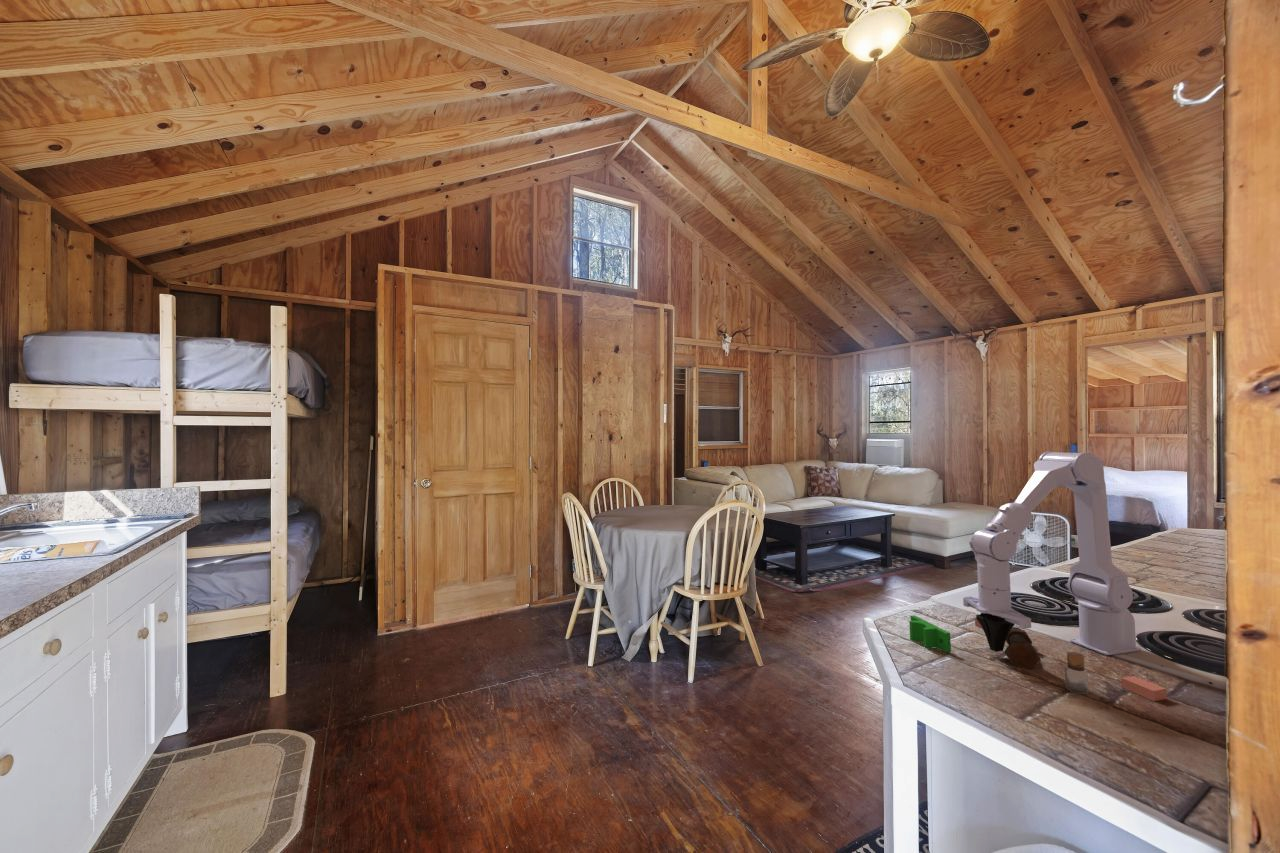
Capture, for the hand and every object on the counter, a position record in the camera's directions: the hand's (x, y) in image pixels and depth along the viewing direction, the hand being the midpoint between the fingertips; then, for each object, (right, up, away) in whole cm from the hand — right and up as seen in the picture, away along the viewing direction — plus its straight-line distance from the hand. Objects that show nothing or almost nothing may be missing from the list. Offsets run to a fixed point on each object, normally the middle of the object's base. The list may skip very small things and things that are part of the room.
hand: (996, 650), depth 108 cm
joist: (+9, -1, +15) cm, 18 cm away
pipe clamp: (-11, -2, +8) cm, 14 cm away
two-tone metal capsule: (+5, -1, -14) cm, 15 cm away
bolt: (+6, -2, +1) cm, 6 cm away
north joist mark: (+15, -1, -16) cm, 22 cm away
